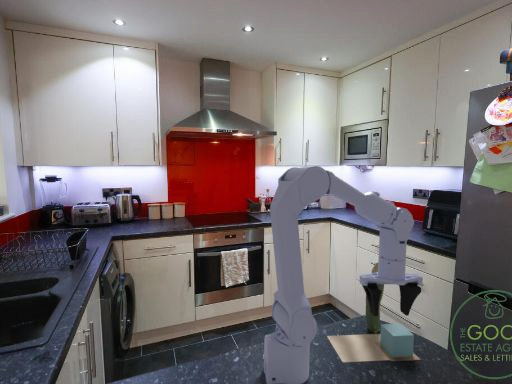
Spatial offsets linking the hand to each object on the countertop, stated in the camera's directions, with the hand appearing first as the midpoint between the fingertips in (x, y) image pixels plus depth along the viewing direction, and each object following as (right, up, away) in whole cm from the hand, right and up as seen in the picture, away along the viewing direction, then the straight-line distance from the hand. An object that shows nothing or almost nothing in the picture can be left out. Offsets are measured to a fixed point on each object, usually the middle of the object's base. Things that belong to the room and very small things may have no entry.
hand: (389, 313), depth 64 cm
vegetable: (0, -10, +9) cm, 13 cm away
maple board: (-4, -10, +1) cm, 11 cm away
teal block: (+2, -9, 0) cm, 9 cm away
